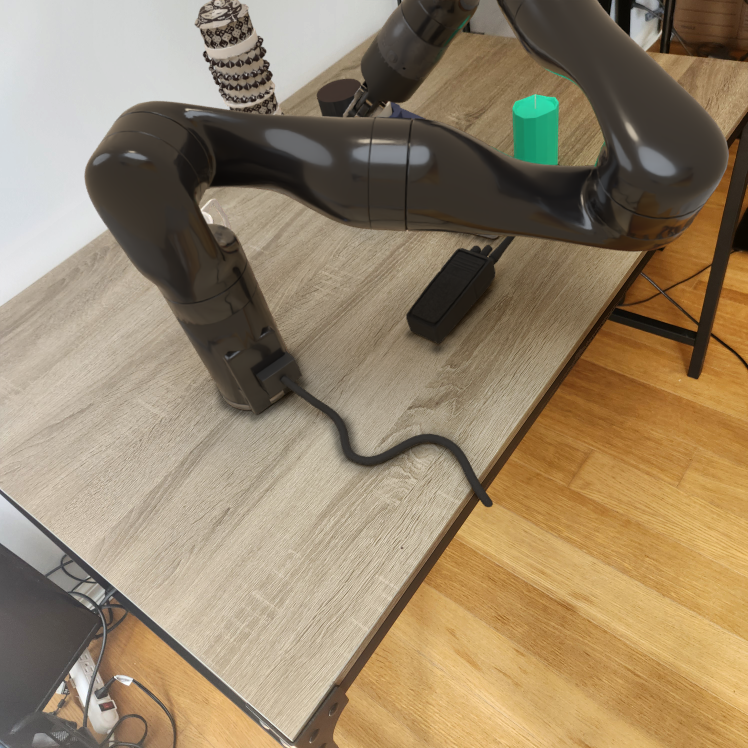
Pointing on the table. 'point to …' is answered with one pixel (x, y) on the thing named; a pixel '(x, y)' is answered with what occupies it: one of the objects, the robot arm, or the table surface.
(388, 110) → the button
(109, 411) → the table surface
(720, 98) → the table surface
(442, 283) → the walkie-talkie
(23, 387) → the table surface
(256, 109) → the decorative candle
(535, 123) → the candle
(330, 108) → the deodorant
